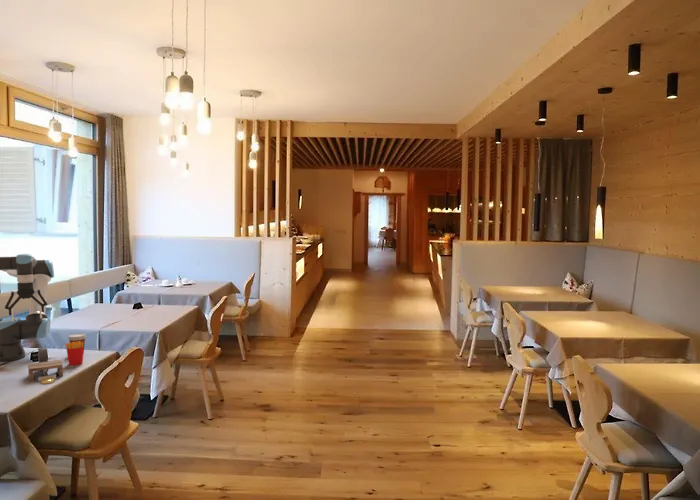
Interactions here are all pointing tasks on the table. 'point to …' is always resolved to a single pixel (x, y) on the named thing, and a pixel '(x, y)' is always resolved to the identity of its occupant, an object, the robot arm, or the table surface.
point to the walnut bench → (45, 367)
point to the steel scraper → (44, 358)
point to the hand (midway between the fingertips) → (27, 319)
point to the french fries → (75, 353)
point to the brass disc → (47, 380)
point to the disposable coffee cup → (77, 338)
